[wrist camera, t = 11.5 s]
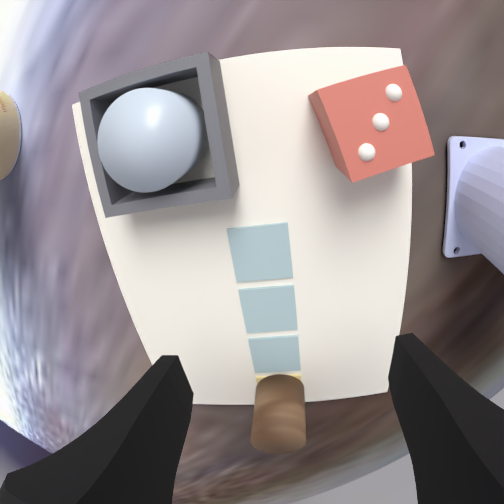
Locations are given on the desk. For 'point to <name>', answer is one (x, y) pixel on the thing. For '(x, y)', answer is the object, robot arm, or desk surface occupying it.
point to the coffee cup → (9, 134)
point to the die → (372, 123)
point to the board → (259, 232)
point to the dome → (151, 138)
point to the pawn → (279, 415)
